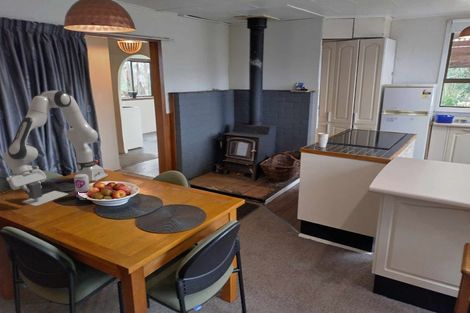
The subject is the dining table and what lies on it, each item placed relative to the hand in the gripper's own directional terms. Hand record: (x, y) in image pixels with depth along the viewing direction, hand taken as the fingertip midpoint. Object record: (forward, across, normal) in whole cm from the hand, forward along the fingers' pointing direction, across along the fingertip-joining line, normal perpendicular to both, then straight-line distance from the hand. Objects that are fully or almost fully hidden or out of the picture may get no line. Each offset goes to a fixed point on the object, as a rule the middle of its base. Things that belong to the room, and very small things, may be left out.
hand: (35, 190), depth 198 cm
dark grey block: (+3, 0, +4) cm, 5 cm away
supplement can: (+18, +19, -6) cm, 27 cm away
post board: (+6, +6, +7) cm, 11 cm away
